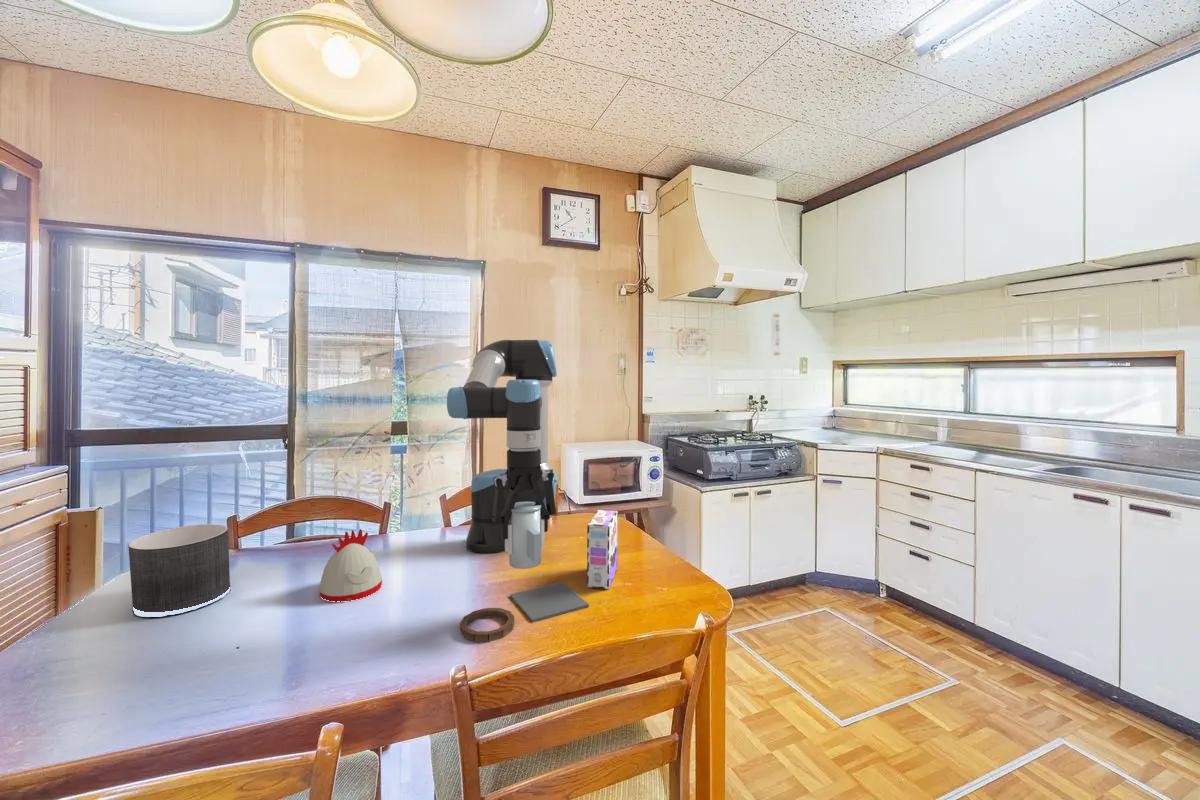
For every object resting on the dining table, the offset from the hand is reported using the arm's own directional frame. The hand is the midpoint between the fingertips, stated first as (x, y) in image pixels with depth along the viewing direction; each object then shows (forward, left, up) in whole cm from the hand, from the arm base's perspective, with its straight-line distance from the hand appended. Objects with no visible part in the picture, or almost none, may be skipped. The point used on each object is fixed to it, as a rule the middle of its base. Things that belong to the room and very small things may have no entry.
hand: (524, 549), depth 109 cm
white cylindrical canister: (+2, 0, -3) cm, 4 cm away
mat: (-2, +7, -14) cm, 16 cm away
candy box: (-7, +25, -15) cm, 29 cm away
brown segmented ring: (+2, -9, -14) cm, 17 cm away
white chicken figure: (-33, -33, -15) cm, 49 cm away
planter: (-47, -68, -15) cm, 84 cm away
